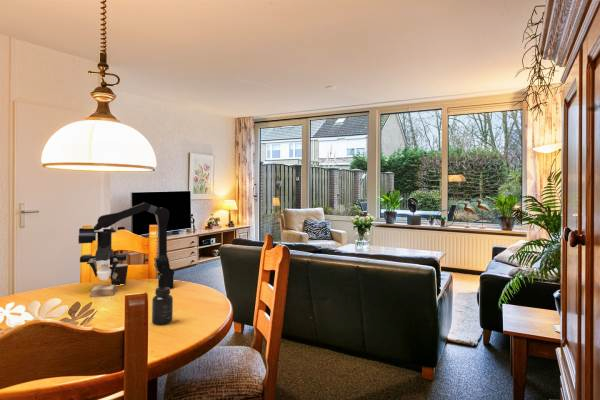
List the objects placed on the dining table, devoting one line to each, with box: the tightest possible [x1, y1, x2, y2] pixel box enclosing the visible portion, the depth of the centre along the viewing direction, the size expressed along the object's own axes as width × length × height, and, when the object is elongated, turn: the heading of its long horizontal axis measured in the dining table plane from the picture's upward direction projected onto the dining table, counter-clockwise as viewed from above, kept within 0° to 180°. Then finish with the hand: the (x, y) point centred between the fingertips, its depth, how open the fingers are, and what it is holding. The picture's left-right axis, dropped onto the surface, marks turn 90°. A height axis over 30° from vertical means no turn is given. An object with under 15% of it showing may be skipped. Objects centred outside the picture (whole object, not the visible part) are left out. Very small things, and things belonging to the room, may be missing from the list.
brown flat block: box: [90, 284, 117, 298], centre depth 165 cm, size 9×9×3 cm
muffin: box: [97, 263, 112, 281], centre depth 165 cm, size 6×6×7 cm
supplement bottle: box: [151, 287, 174, 326], centre depth 127 cm, size 7×7×12 cm
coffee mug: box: [108, 263, 129, 285], centre depth 185 cm, size 12×9×10 cm
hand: (104, 276), depth 165 cm, fingers closed on muffin, 6 cm apart
